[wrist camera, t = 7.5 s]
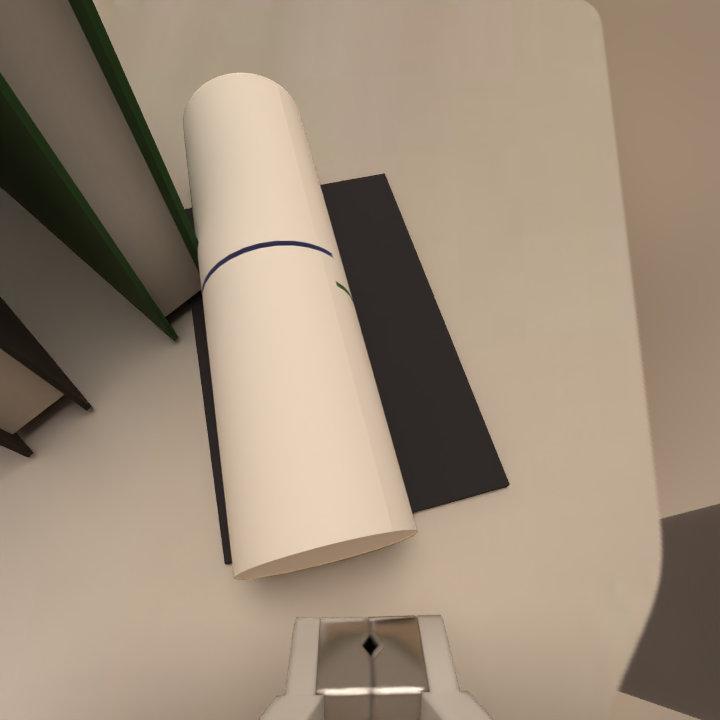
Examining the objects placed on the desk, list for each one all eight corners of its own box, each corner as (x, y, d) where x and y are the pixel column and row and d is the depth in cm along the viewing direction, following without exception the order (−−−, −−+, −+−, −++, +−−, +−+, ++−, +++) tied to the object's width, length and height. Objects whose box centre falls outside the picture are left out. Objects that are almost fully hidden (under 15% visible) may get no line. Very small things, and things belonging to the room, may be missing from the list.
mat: (384, 177, 33) (384, 173, 33) (507, 486, 24) (510, 484, 23) (180, 214, 31) (178, 210, 31) (226, 564, 22) (224, 564, 22)
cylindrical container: (198, 589, 18) (162, 146, 29) (339, 562, 23) (263, 192, 34) (310, 543, 14) (219, 45, 25) (453, 522, 19) (324, 114, 30)
